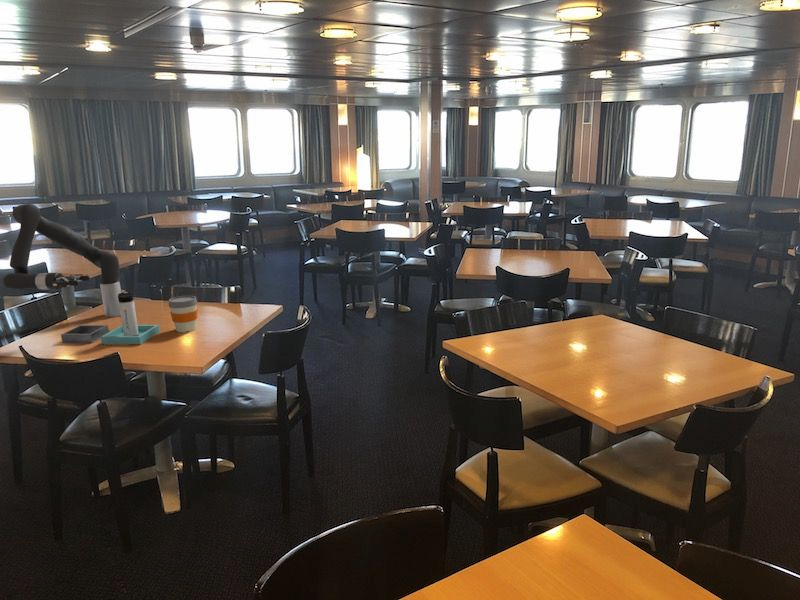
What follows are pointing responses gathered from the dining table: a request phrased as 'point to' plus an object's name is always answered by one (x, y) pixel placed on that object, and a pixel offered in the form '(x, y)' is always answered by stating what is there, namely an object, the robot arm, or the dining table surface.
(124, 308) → the travel mug
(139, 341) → the teal tray
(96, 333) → the gray tray
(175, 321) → the reusable coffee cup
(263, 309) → the dining table surface
